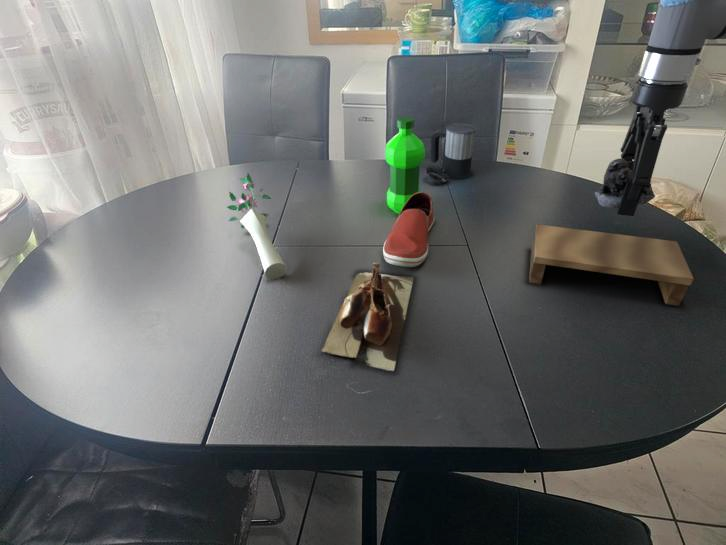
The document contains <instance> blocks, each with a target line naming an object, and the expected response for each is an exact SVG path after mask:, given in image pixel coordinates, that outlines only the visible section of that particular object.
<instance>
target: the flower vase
mask: <svg viewBox="0 0 726 545" xmlns="http://www.w3.org/2000/svg"><path fill="white" fill-rule="evenodd" d="M238 179H239V180H240V181H241V183H242V185H241V186H242V187H243V189H244V190H246V191H249V192H250V191H251V193H252V195H253V196H252V195H251V196H250V194H245V193H244V192H241V195H240V197H239V199H238V200H237V197H236V196H235V194H234V193H233V192H231V191H228V196H229V198H230V200H231V201H232V202H236V203H237V205H236V204H232V205H231V204H230V205H227V206H226V208H227V209H228V210H231V211H237V212H240V211H241V212H242V213H243V212H244V213H245V215H244V216H243V217H242V218H241V219H240V218H238V217H237V216H232V217H230V218H228V221H227V222H233V221H238V220H239V222H240V223H241V224H240V228H241V229H244V228H245V229H246V230H247V232H248V233H249V235H250V236H251V238H252V239H253V242H254V244H255V246H256V250H257V253H258V256H259V259H260V262H261V265H262V269H263V272H264V276H265V277H266V278H267V279H269V280H277V279H281V277H282V276H284V275H285V273H286V271H287V267H286V264H285V263H284V261H283V259H282V258H281V256H280V255H279V253H278V252H277V250H276V248H275V246H274V244H273V243H272V240H271V239H270V237H269V234H268V230H267V229H268V228H267V222H266V221H267V220H266V217H267V216H269V213H265V212H264V213H260V212H259V211H257V210H255V209H254V208H258V204H257V203H258V202H257V201H255V200H256V197H255V193H254V191H253V189H254V188H255V183H254V181H253V180H252V177H251V175H250V173H249V172H247V173H246V177H245V178H243V177H240V178H238ZM263 190H264V188H260V189H259V191H258V195H257V197H259V198H261V199H265V200H271V199H272V198H271V197H270V195H268V194H262V196H260V195H261V193H260V192H262V191H263Z"/></svg>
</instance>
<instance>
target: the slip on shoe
mask: <svg viewBox="0 0 726 545" xmlns="http://www.w3.org/2000/svg"><path fill="white" fill-rule="evenodd" d="M434 222H435V214H434V204H433V197H432V196H431V195H430V194H429V193H427V192H423V191H420V192H419V193H416V194H414V195H412V196H411V197H410V198H409V199H408V201H407V202H406V204H405V205H404V206H403V208H402V210H401V213H400V214H398V217H397V219H396V221H395V222H394V224H393V226H392V228H391V229H390V231H389V234H388V236H387V238H386V240H385V241H384V244H383V247H382V255H383V259H384V260H385V262H386V263H388V264H390V265H393V266H397V267H402V268H403V267H405V268H414V267H417V266H418V267H419V266H420V265H421V264H422V263H423V262H425V260H426V259H427V257H428V255H429V243H428V241H429V232H430V230H431V229H432V226H433V225H434Z"/></svg>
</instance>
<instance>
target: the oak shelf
mask: <svg viewBox="0 0 726 545" xmlns="http://www.w3.org/2000/svg"><path fill="white" fill-rule="evenodd" d="M530 248H531V249H530V259H529V278H528V283H531V284H538V285H542V283H543V282H542V281H543V278H544V274H545V270H546V266H552V267H560V268H568V269H573V270H581V271H588V272H596V273H601V274H607V275H613V276H615V275H616V276H621V277H622V276H623V277H628V278H629V277H630V278H636V279H642V280H651V281H657V283H658V286H659V289H660V291H661V295H662V299H663V301H664V304H666V305H670V306H677V307H678V306H680V305H681V303H682V301H683V299H684V297H685V294H686V293H687V291H688V289H689V286H691V285H692V283H693V281H694V278H695V277H694V276H693V274H692V271H691V270H690V267H689V265H688V262H687V260H686V258H685V256H684V253H683V252H682V249H681V247H680V245H679V242H678V241H676V240H667V239H660V238H652V237H644V236H637V235H628V234H627V235H626V234H620V233H611V232H602V231H594V230H585V229H578V228H577V229H576V228H572V227H571V228H570V227H562V226H561V227H560V226H552V225H544V224H536V225H535V230H534V234H533V239H532V244H531V247H530Z"/></svg>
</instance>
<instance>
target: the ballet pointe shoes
mask: <svg viewBox="0 0 726 545" xmlns="http://www.w3.org/2000/svg"><path fill="white" fill-rule="evenodd" d="M380 266H381V263H380V262H373V263H372V267H373V269H372V270H371V272H366V271H365V272H364V271H363V273H362V272H361V271H360V272H359V273H358V274H356V276H355V278H354V279H353V281H352V284H351V286H350V289H349V290H348V293H347V295H346V298H344V299H343V301H344V302H343V303H342V304H341V305H340V307H339V309H340V310H339V311H338V314H337V316H336V318H335V320H334V322H333V323H332V327H331V328H330V331H329V333H328V335H327V338H326V340H325V342H324V345H323V346H322V347H323V348H322V349H321V352H322V353H327V354H331V355H336V356H337V355H338V356H341V357H347V358H351V359H353V358H355V363H357V362H358V359H359V356H360V355H361V354H364V351H365V350H366V356H367V357H366V358H367V359H368V360H365V363H367V364H366V365H367V366H369V367H372V368H375V369H382V370H385V371H390V372H391V371H392V372H394V371H395V368H396V363H397V359H398V354H399V349H400V344H401V340H402V335H403V331H404V325H405V324H404V323H405V320H406V318H407V316H406V315H407V311H408V306H409V301H410V298H411V293H412V288H413V285H414V284H413V282H414V277H413V276H406V275H392V274H384V273H379V272H380ZM366 343H367V344H366ZM365 344H366V345H365Z"/></svg>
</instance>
